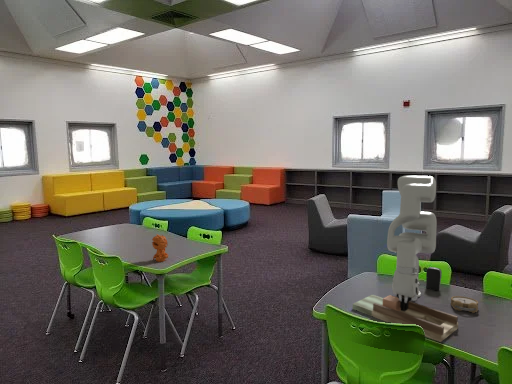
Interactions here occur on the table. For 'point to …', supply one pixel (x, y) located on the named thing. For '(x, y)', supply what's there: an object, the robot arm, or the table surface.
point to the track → (411, 316)
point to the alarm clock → (464, 303)
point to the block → (392, 302)
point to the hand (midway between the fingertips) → (404, 310)
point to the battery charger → (433, 278)
